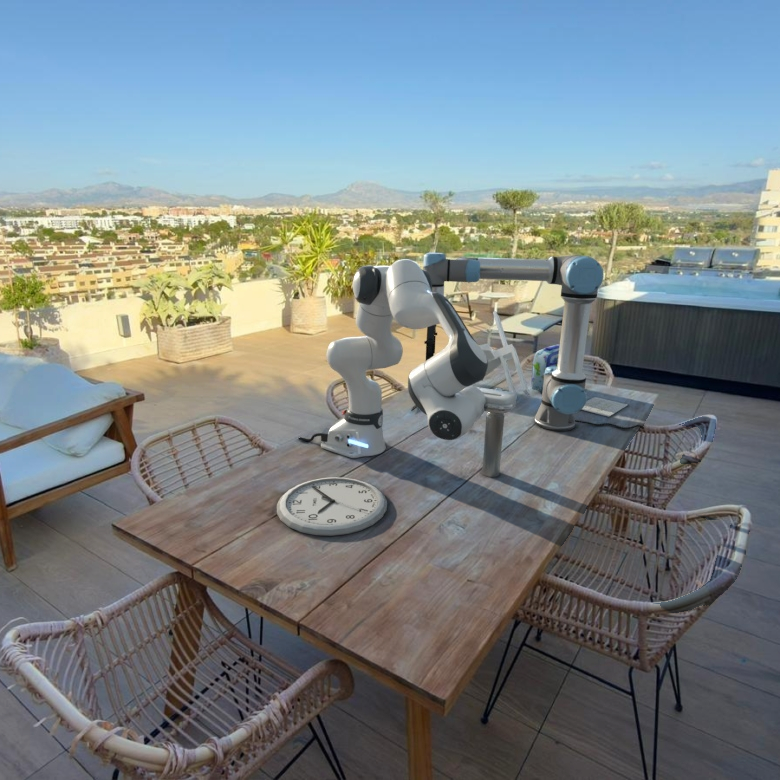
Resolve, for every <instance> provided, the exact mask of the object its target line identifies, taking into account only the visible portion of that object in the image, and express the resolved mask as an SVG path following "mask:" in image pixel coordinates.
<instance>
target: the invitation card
mask: <svg viewBox="0 0 780 780" xmlns="http://www.w3.org/2000/svg"><path fill="white" fill-rule="evenodd" d="M628 406H629V404H627V403H623V402H618V401H614V400H609V399H605V398H601V397H596V396H593V397H592V398H590V399H587V401H586V404H585V406H584V407H583V408H582V409H581V410H580V411H584V412H587V413H593V414H596V415H600V416H604V417H608V418H609V417H611V416H613V415H614V414H616V413H617V412H619V411H621V410H623V409H624V408H626V407H628Z"/></svg>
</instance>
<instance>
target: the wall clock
mask: <svg viewBox="0 0 780 780" xmlns="http://www.w3.org/2000/svg"><path fill="white" fill-rule="evenodd" d="M387 509H388V500H387V498H386V496H385V494H384V493H383V492H382V491H381V490H380V489H379V488H377V487H376V486H374V485H372V484H371V483H369V482H365V481H362V480H359V479H355V478H349V477H338V476H337V477H335V476H333V477H332V476H331V477H322V478H317V479H312V480H307V481H305V482H302V483H299V484H297V485H295V486H293V487H292V488H290V489H288V490H287V491H286V492H285V493H284V494H283V495H281V496H280V498H279V499H278V502H277V503H276V515H277V517H278V518H279V520H280V521H281V522H282V523H283V524H285V525H286V526H287V527H288V528H290V529H293V530H295V531H297V532H299V533H303V534H308V535H312V536H327V537H328V536H329V537H331V536H332V537H333V536H342V535H350V534H352V533H356V532H361V531H363V530H366V529H368V528H369V527H372V526H373V525H375V524H376V523H378V522H379V521H380V520H381V519H382V518H383V517H384V516H385V514H386V512H387Z"/></svg>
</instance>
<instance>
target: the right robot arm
mask: <svg viewBox="0 0 780 780" xmlns="http://www.w3.org/2000/svg"><path fill="white" fill-rule="evenodd" d="M422 264H423V265H422V270H424V271H427V272H428V273H429V275H430V277H431V280H432V293H435V292H438V293H440V294H442V295H443V296H444V297H445V282H447V283H449V282H452V283H453V282H457V283H468V284H470V283H477V282H479V281H480V280H495V281H497V280H499V281H500V280H501V281H526V282H527V281H531V282H546V283H547V284H548V285H557V286H561V289H560V298H561V299H562V300H563V303H564V305H563V313H562V322H561V330H560V339H559V345H560V346H559V355H558V364H557V366H553V367H547V368H546V369H545V373H544V382H543V392H542V391H541V393H542V394H541V402H540V405H539V407H538V410H537V411H536V413H535V416H534V424H535V425H536V426H537V427H539V428H542V429H544V430H549V431H556V432H567V431H572V430H574V429H575V428H576V423H577V424H584V425H588V426H589V425H590V426H594V427H602V426H611V427H614V428H617V429H619V430H623V431H624V430H625V431H628V430H633V429H635V428H640V429H641V430H645V427H644V426H643V425H641V424H635V425H632V426H627V427H624V426H620V425H617V424H614V423H612V422H602V423H594V422H590V421H584V420H578V419H576V418H575V417H576V416H575V414H576V413H579V412H580V411H582V410H581V409H582V408H583V407H584V406H585V404H586V401H588V397H587V392H586V389H585V388H586V383H587V382H586V381H587V375H586V374H585V373H584V371H583V369H584V361H585V355H586V347H587V339H588V338H587V337H588V330H589V324H590V318H591V317H590V316H591V308H592V303H593V302H594V301H596V300H597V298H598V294H599V293H598V291H599V288H601V285H602V284H603V281H604V269H603V267H602V265H601V264H600V262H599V261H597V260H596V259H595V258H594V257H592V256H587V255H581V254H574V255H573V254H572V255H565V256H551V257H549V258H548V259H545V258H544V259H543V258H542V259H541V258H540V259H539V258H501V257H500V258H497V257H496V258H495V257H494V258H492V257H466V256H460V257H457V258H455V259H451V258H449V259H448V258H447V257H446V253H444V252H427V253H425V254H424V255H423V263H422ZM436 328H437V324H436V325H432V326H429V327H427V328H426V340H424V342H423V343H424V344H425V361H427V360H428V359H430V358H431V357H433V356H434V355H435V354H436V338H437V337H436V336H438V332H437V329H436Z"/></svg>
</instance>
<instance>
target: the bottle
mask: <svg viewBox="0 0 780 780" xmlns="http://www.w3.org/2000/svg"><path fill="white" fill-rule="evenodd" d="M504 424H505V413H495V412H488V411H486V415H485V429H484V443H483V455H482V470H481V474H482V475H483V476H485V477H489V478H496V477H499V476H500V471H501V458H502V449H503V437H504Z"/></svg>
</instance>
